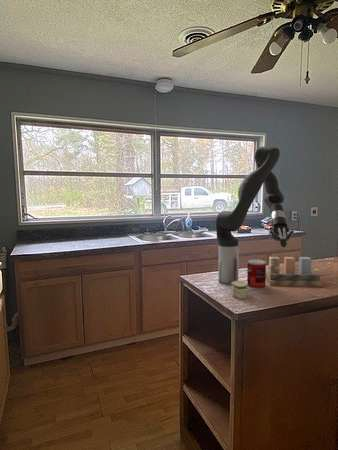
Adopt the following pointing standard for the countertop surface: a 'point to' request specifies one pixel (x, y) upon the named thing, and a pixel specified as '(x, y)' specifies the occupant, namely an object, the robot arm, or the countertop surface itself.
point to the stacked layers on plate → (239, 289)
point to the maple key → (274, 265)
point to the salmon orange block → (289, 265)
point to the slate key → (304, 265)
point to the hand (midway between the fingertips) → (284, 246)
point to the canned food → (256, 273)
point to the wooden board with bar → (294, 279)
